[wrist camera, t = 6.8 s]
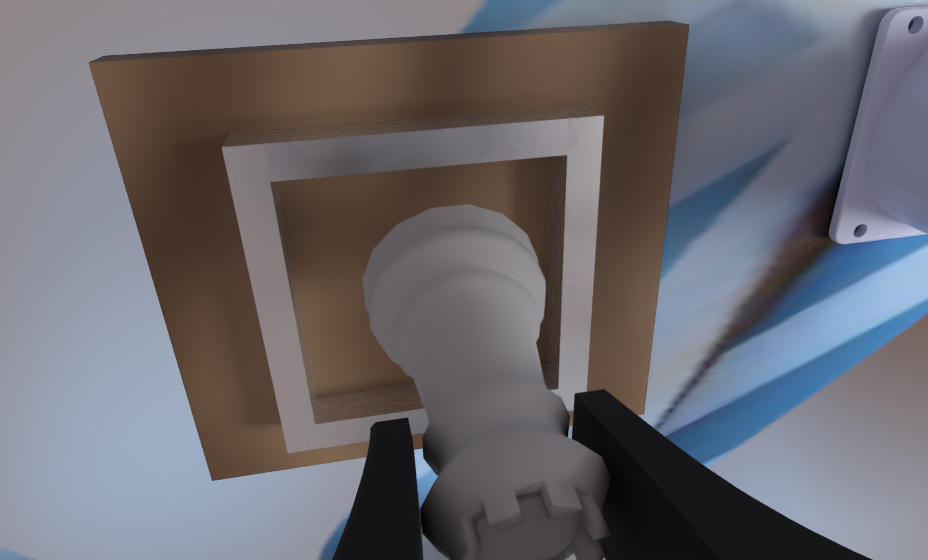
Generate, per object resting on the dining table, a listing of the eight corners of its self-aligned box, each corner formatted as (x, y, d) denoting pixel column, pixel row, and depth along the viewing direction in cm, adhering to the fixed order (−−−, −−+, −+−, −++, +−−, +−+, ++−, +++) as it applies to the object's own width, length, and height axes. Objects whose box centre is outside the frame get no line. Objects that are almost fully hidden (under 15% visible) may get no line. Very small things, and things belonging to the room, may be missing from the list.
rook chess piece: (544, 315, 18) (672, 589, 11) (388, 359, 18) (427, 663, 11) (519, 172, 15) (668, 423, 9) (336, 223, 15) (347, 516, 8)
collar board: (669, 20, 19) (717, 30, 17) (631, 395, 26) (661, 440, 23) (103, 55, 17) (66, 72, 15) (217, 457, 23) (204, 513, 21)
